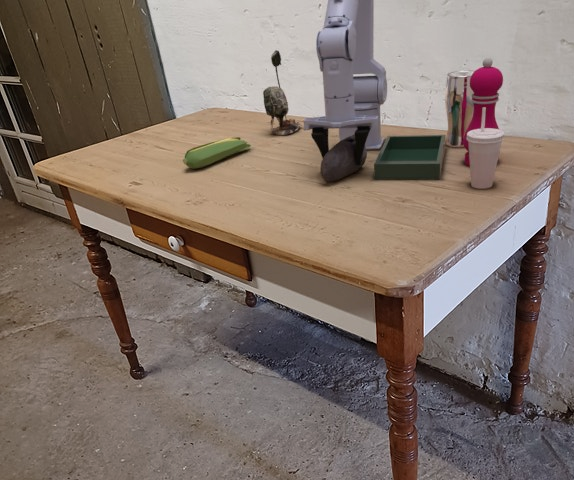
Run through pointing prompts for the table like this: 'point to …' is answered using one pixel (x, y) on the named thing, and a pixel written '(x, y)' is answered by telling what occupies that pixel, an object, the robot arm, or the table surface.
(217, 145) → the edible corn
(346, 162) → the perforated stone tool
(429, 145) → the dish
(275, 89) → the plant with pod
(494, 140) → the smoothie
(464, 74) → the beer glass
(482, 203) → the table surface
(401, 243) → the table surface
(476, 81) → the pepper mill
